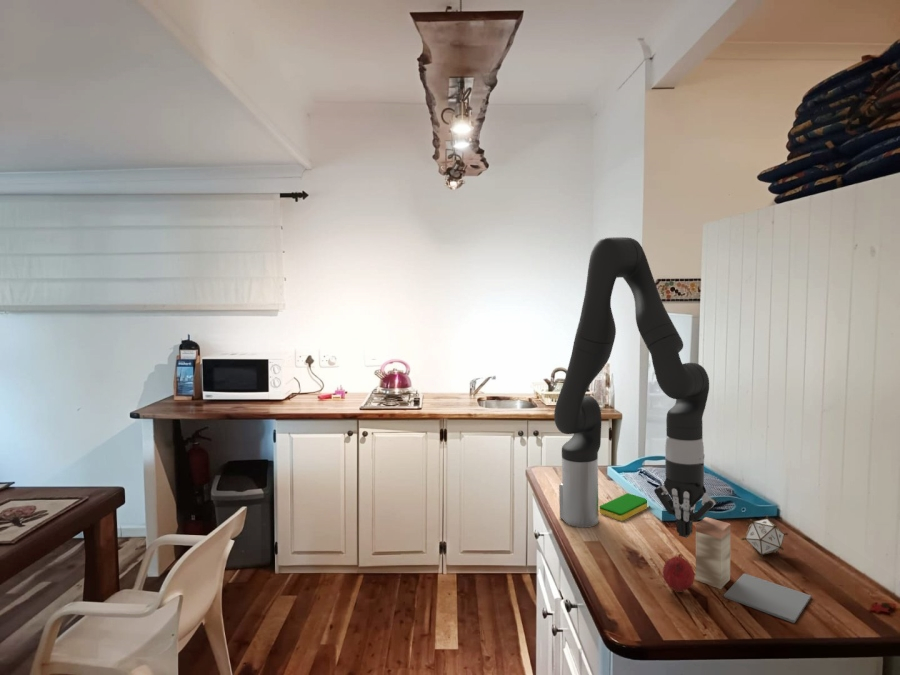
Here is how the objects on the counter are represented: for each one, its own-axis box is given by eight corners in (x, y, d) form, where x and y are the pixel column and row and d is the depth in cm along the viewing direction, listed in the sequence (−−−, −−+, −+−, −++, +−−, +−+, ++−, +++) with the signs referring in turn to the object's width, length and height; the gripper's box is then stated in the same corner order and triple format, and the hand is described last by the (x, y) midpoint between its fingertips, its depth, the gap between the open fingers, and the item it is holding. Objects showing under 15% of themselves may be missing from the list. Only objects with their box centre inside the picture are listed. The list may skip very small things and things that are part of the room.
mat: (723, 597, 104) (723, 594, 104) (743, 575, 112) (743, 573, 112) (794, 623, 96) (794, 620, 96) (810, 597, 103) (810, 595, 103)
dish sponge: (598, 514, 146) (598, 506, 145) (627, 500, 154) (627, 492, 154) (621, 522, 140) (621, 513, 140) (650, 507, 149) (650, 499, 148)
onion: (691, 603, 103) (692, 563, 102) (660, 595, 106) (660, 556, 105) (696, 588, 108) (696, 550, 107) (665, 581, 111) (665, 544, 110)
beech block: (695, 579, 111) (695, 524, 110) (705, 570, 114) (705, 516, 113) (720, 589, 107) (721, 531, 106) (730, 579, 111) (730, 523, 110)
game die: (773, 572, 120) (800, 550, 113) (735, 556, 121) (759, 534, 114) (769, 538, 126) (793, 515, 120) (733, 524, 128) (755, 501, 121)
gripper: (646, 455, 115) (647, 532, 117) (709, 468, 106) (709, 552, 107) (662, 447, 120) (662, 521, 122) (723, 459, 111) (723, 539, 112)
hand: (684, 535), depth 114 cm, fingers closed
